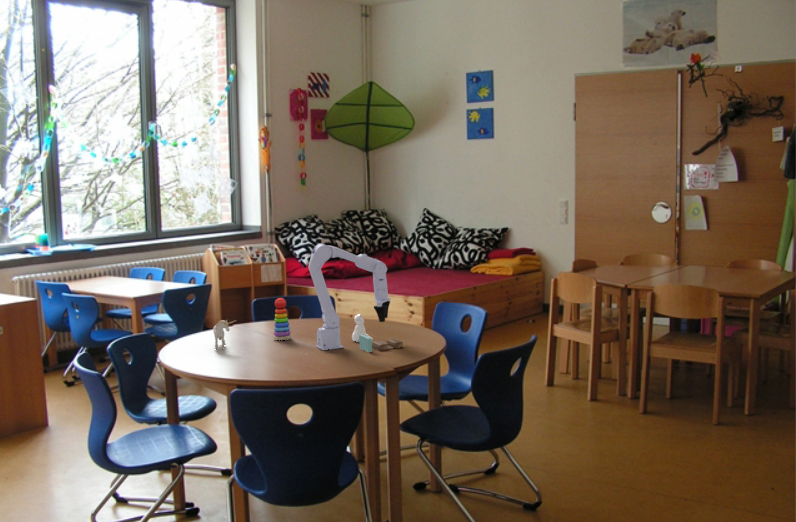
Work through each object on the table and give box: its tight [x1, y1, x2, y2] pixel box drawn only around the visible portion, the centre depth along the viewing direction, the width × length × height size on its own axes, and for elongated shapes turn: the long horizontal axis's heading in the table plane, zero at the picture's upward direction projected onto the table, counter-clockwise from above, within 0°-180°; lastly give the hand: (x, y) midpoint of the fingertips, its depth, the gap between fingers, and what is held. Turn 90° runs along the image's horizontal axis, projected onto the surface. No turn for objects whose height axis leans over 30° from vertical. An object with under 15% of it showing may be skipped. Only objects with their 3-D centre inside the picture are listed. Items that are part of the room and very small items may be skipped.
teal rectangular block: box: [358, 335, 373, 353], centre depth 313 cm, size 2×9×6 cm, turn 27°
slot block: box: [372, 338, 404, 351], centre depth 318 cm, size 11×7×2 cm, turn 117°
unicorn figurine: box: [212, 319, 237, 351], centre depth 322 cm, size 7×20×13 cm, turn 33°
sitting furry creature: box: [351, 313, 374, 343], centre depth 331 cm, size 10×9×12 cm
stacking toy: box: [273, 297, 292, 342], centre depth 338 cm, size 8×8×19 cm
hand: (383, 319), depth 325 cm, fingers open, 7 cm apart
